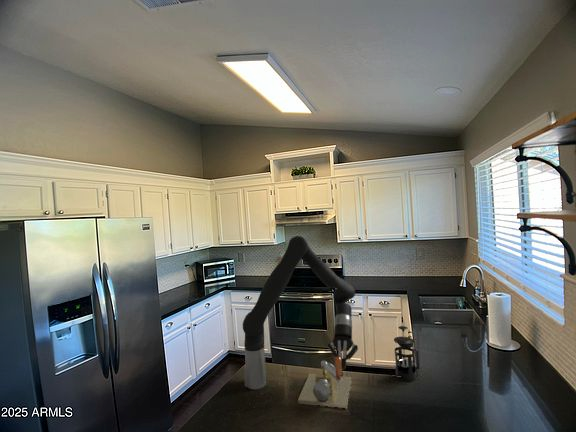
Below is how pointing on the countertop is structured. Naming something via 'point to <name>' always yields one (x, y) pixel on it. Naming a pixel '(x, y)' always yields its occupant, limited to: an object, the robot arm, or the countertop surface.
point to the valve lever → (338, 373)
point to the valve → (325, 389)
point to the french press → (406, 364)
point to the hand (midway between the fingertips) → (342, 369)
